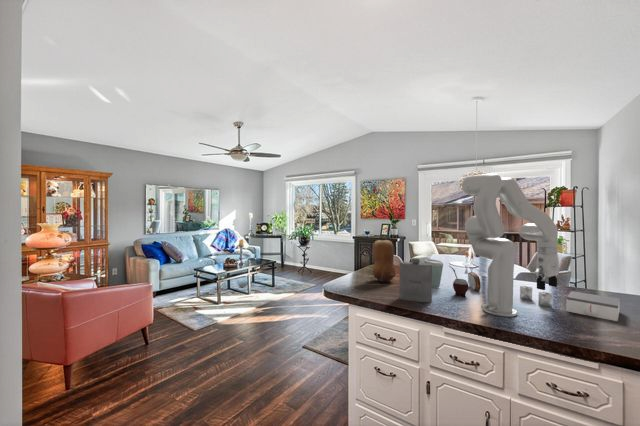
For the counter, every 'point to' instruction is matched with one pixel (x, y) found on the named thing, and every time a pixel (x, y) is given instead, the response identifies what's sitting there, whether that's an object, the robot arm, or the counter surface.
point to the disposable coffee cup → (435, 271)
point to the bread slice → (474, 281)
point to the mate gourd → (460, 286)
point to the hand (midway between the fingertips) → (546, 287)
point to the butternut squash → (384, 261)
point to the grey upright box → (415, 281)
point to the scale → (593, 305)
